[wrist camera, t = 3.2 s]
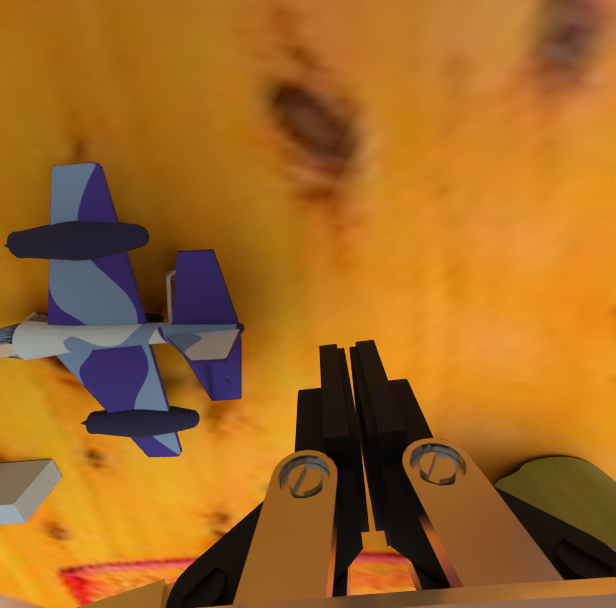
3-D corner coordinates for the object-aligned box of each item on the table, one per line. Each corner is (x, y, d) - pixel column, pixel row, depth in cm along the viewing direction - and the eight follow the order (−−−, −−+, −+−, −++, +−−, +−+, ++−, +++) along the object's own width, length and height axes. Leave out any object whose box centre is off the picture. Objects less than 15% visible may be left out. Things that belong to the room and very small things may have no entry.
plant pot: (659, 529, 23) (947, 851, 12) (474, 573, 25) (584, 874, 15) (640, 390, 18) (1050, 697, 8) (420, 458, 21) (519, 764, 10)
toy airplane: (-62, 323, 18) (-146, 361, 15) (71, 94, 14) (-5, 77, 11) (153, 458, 21) (123, 513, 18) (312, 307, 17) (311, 344, 14)
